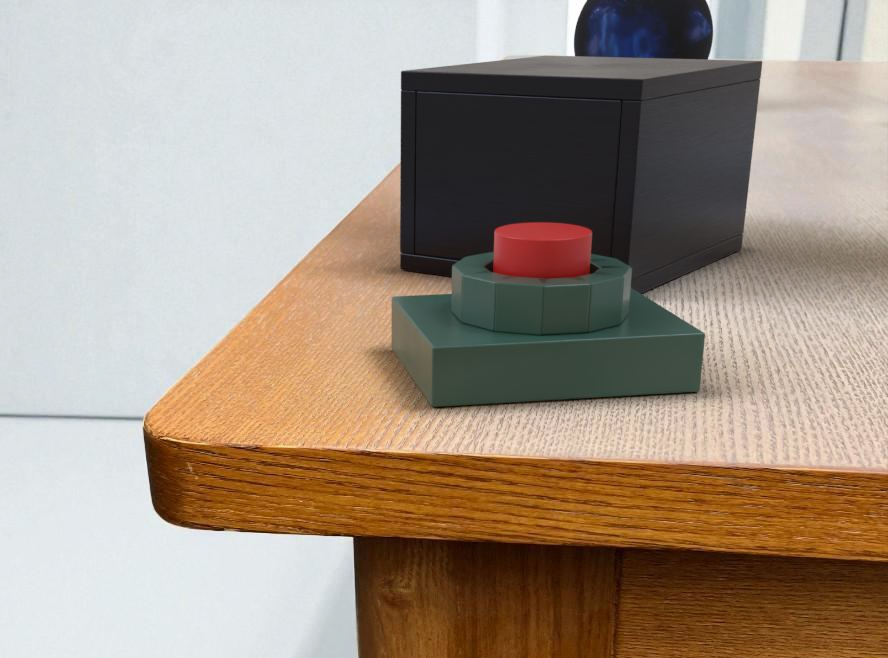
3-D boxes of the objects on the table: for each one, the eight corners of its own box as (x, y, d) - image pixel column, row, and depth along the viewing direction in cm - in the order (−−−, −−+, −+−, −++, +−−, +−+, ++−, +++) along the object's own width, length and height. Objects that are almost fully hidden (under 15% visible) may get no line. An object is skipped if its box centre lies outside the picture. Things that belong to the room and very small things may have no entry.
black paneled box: (537, 227, 78) (544, 55, 74) (741, 249, 71) (762, 60, 67) (399, 270, 67) (400, 70, 63) (625, 301, 60) (642, 79, 56)
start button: (572, 265, 50) (574, 220, 49) (602, 285, 47) (605, 237, 46) (482, 270, 50) (484, 224, 49) (506, 290, 46) (508, 241, 46)
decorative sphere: (561, 114, 141) (569, -35, 135) (579, 102, 154) (587, -34, 148) (702, 117, 137) (717, -37, 131) (708, 104, 150) (722, -36, 144)
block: (624, 337, 54) (631, 241, 52) (700, 392, 47) (711, 282, 45) (391, 349, 53) (391, 251, 51) (431, 407, 45) (433, 295, 44)
